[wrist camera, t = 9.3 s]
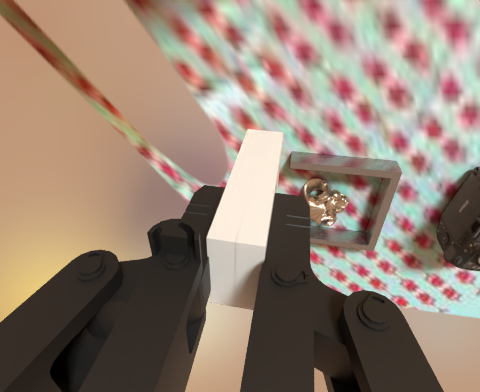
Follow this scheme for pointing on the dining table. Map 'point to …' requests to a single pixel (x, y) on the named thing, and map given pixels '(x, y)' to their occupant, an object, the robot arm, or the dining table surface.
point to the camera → (462, 226)
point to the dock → (356, 167)
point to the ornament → (324, 201)
